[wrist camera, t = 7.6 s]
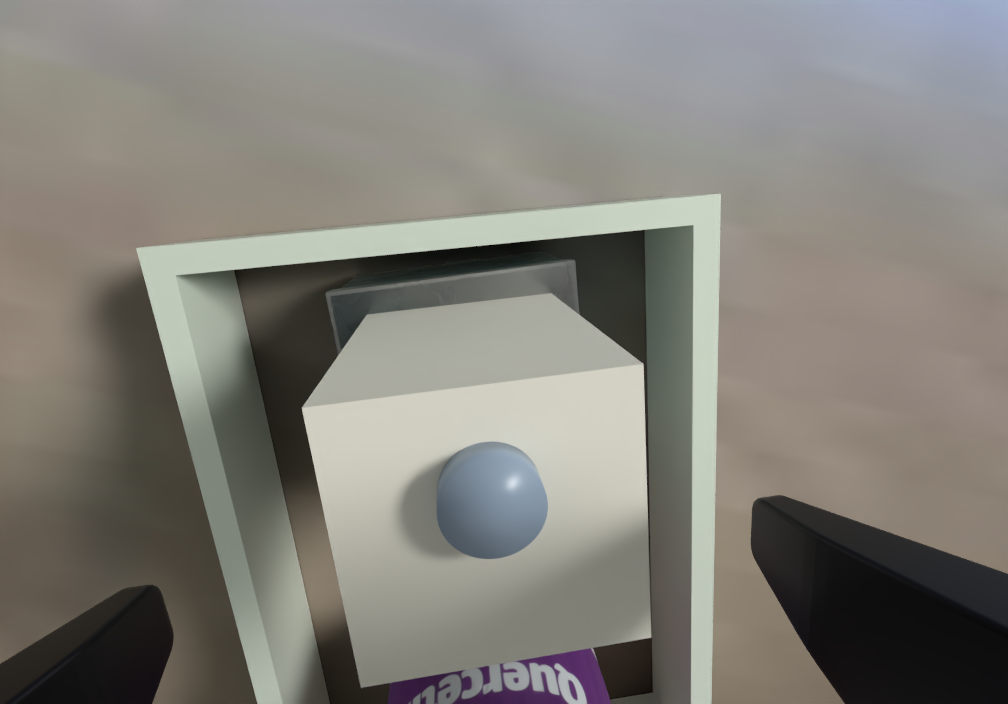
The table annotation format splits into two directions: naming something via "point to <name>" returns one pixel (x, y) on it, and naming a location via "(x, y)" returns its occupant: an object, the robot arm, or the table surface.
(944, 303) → the table surface
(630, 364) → the carton
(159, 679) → the robot arm
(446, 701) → the pill bottle
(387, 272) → the tin
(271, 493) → the tote
